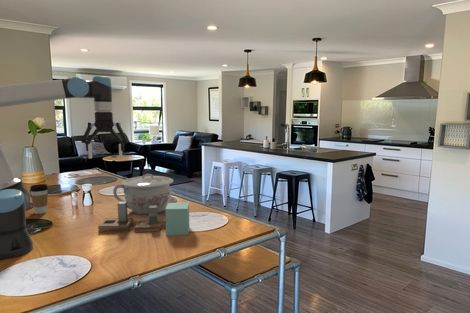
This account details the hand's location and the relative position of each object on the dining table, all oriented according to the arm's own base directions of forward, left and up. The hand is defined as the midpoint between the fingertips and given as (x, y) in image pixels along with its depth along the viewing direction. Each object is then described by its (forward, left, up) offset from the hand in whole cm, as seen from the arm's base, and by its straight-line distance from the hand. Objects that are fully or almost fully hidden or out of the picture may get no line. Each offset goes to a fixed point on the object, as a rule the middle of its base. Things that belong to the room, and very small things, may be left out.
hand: (105, 158), depth 154 cm
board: (-2, -19, -33) cm, 38 cm away
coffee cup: (+25, +43, -33) cm, 60 cm away
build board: (-2, -4, -33) cm, 33 cm away
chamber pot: (+24, -14, -33) cm, 43 cm away
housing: (-8, -33, -33) cm, 47 cm away
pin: (-2, -7, -32) cm, 33 cm away
